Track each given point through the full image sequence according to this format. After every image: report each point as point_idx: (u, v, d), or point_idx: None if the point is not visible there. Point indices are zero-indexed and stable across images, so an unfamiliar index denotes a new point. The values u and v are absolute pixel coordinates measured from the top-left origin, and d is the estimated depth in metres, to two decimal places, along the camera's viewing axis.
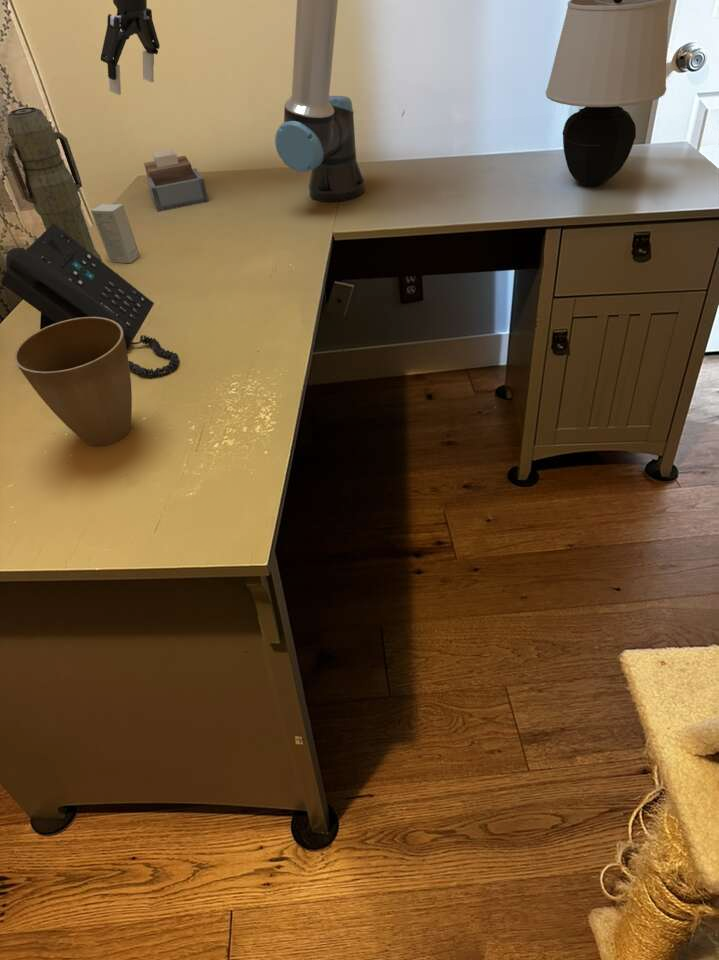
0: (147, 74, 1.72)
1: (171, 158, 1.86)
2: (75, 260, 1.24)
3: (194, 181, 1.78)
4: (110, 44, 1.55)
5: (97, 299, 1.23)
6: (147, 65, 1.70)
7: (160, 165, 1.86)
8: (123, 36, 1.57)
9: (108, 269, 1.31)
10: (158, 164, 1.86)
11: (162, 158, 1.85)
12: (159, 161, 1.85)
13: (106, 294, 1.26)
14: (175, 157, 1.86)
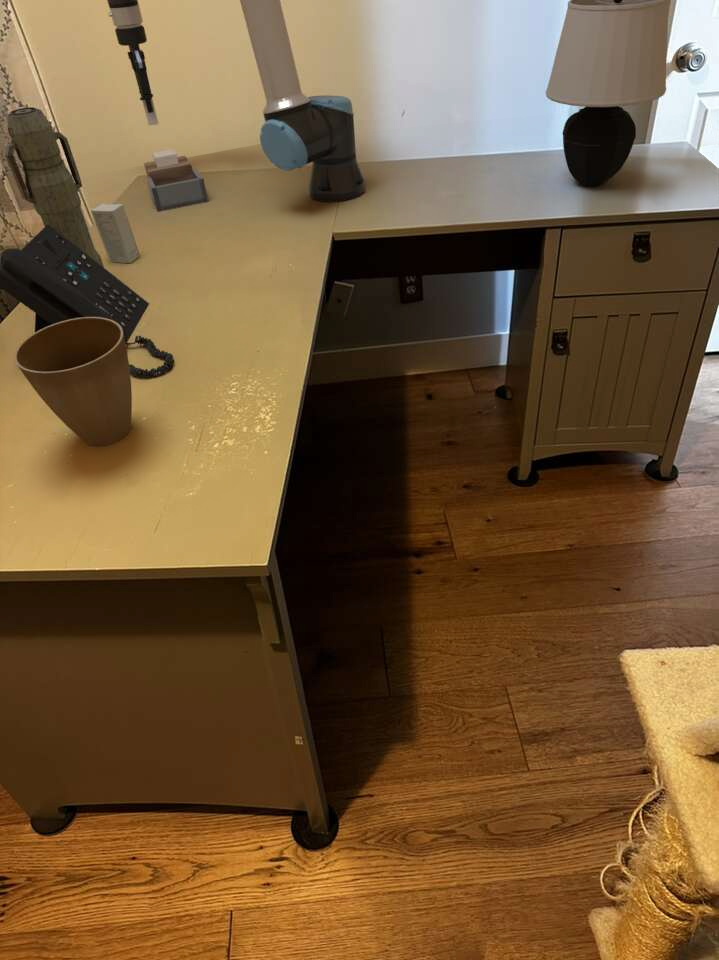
0: None
1: (171, 158, 1.86)
2: (70, 261, 1.24)
3: (194, 181, 1.78)
4: (147, 82, 1.80)
5: (92, 299, 1.23)
6: None
7: (160, 165, 1.86)
8: None
9: (103, 270, 1.31)
10: (158, 164, 1.86)
11: (162, 158, 1.85)
12: (159, 161, 1.85)
13: (101, 294, 1.26)
14: (175, 157, 1.86)
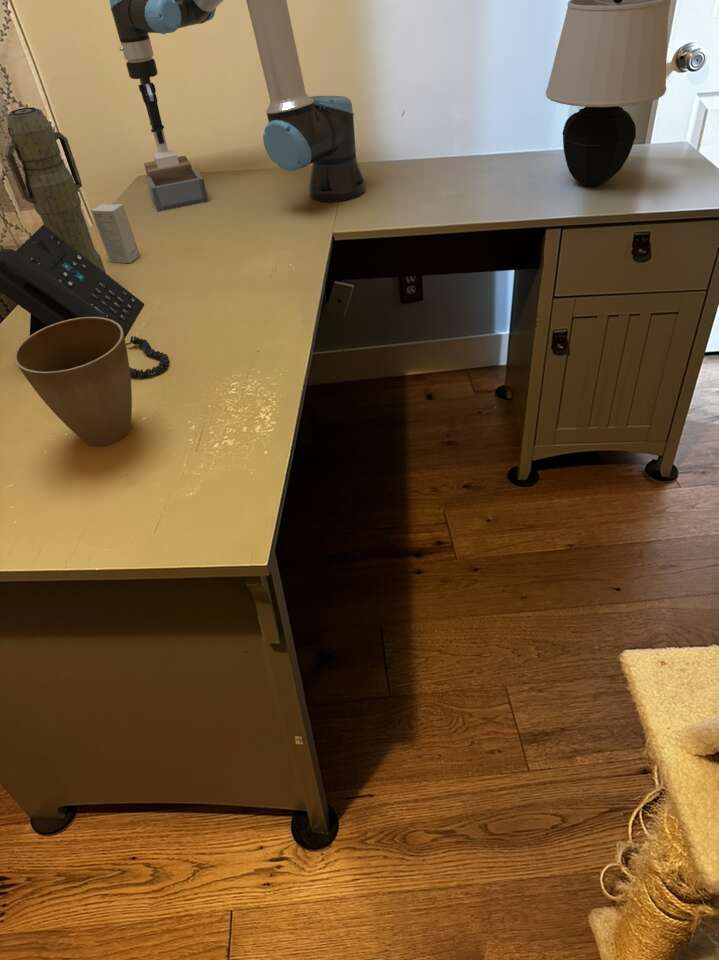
0: None
1: (171, 159, 1.85)
2: (65, 262, 1.24)
3: (194, 181, 1.78)
4: (158, 115, 1.79)
5: (87, 300, 1.23)
6: None
7: (161, 166, 1.85)
8: None
9: (98, 270, 1.31)
10: (159, 165, 1.85)
11: (163, 159, 1.84)
12: (160, 162, 1.84)
13: (96, 295, 1.26)
14: (176, 158, 1.85)
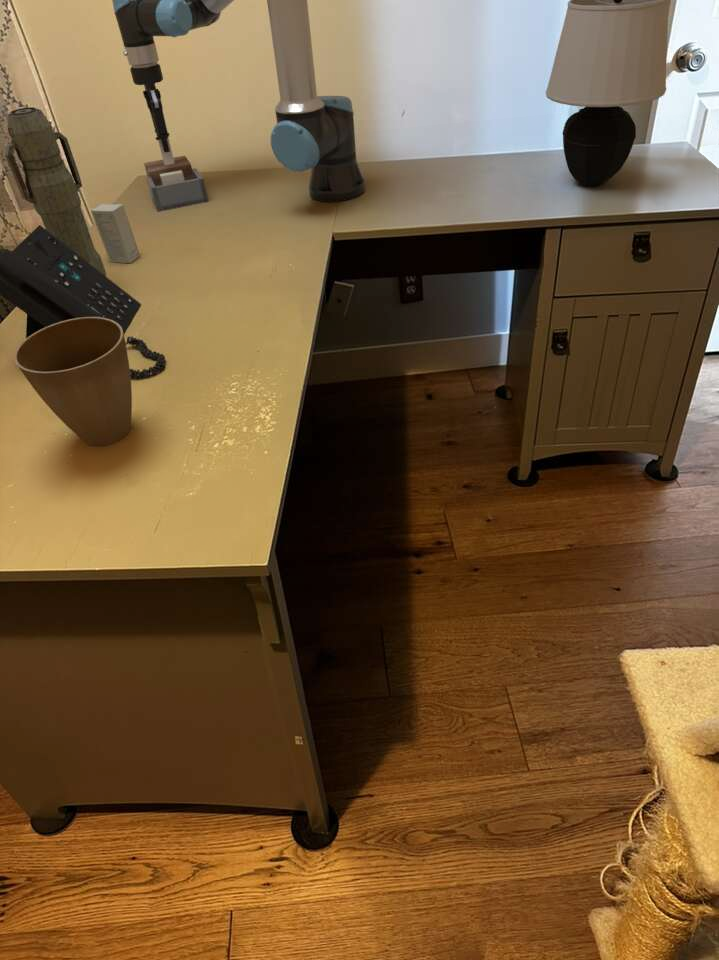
0: None
1: None
2: (62, 262, 1.24)
3: (194, 181, 1.78)
4: (163, 122, 1.72)
5: (84, 300, 1.23)
6: None
7: None
8: None
9: (95, 270, 1.31)
10: None
11: None
12: None
13: (93, 295, 1.26)
14: None
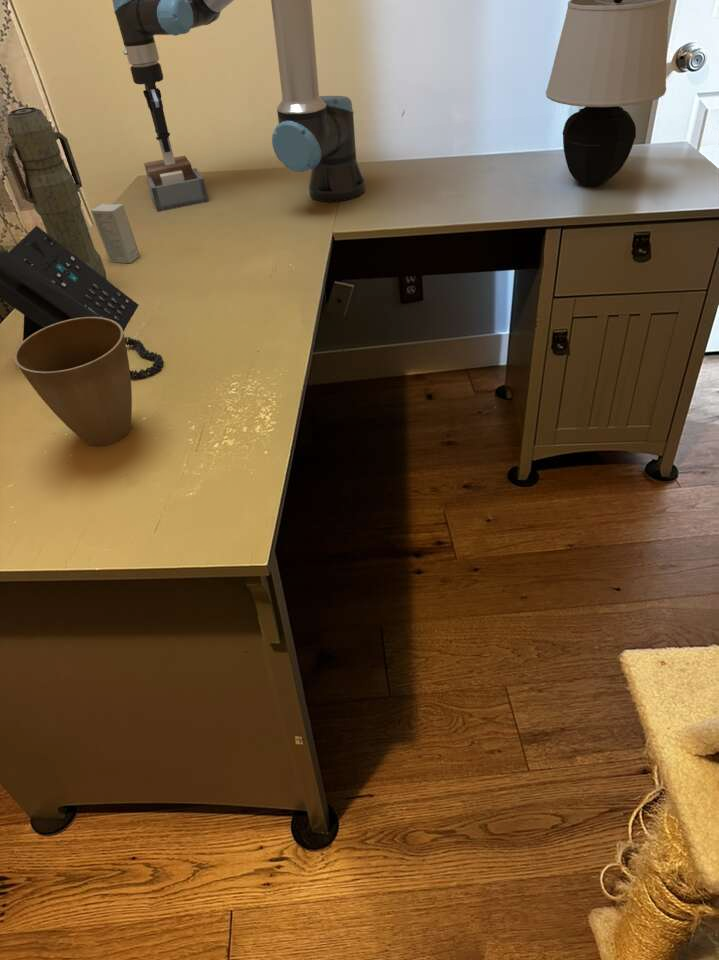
0: None
1: None
2: (59, 263, 1.24)
3: (194, 181, 1.78)
4: (163, 122, 1.71)
5: (81, 301, 1.23)
6: None
7: None
8: None
9: (92, 271, 1.31)
10: None
11: None
12: None
13: (90, 296, 1.26)
14: None
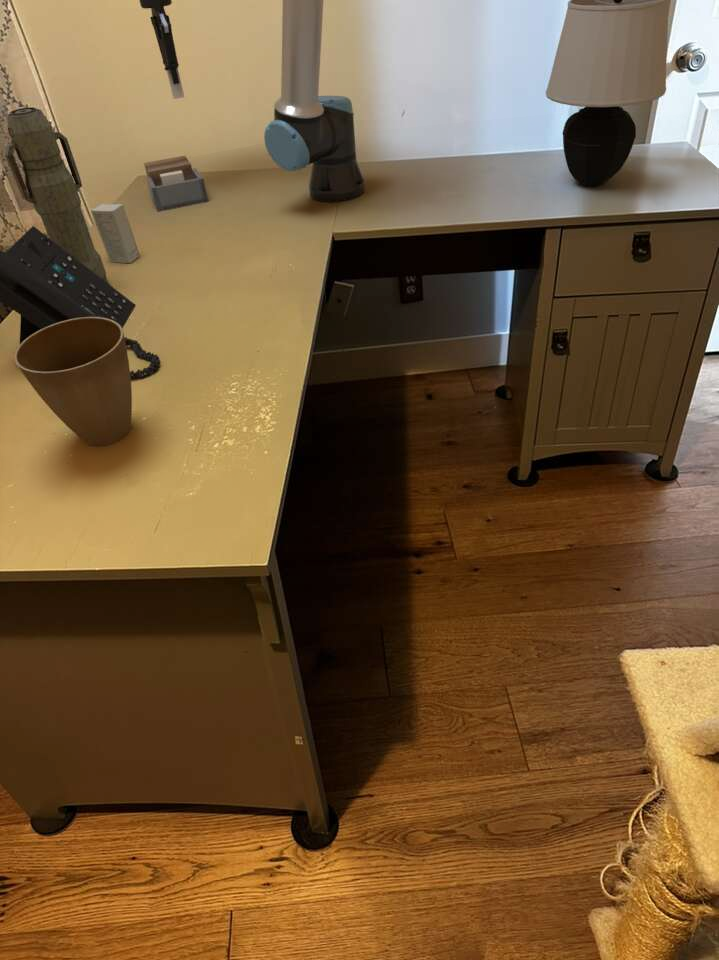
0: None
1: None
2: (55, 263, 1.24)
3: (194, 181, 1.78)
4: (173, 49, 1.64)
5: (78, 301, 1.23)
6: None
7: None
8: None
9: (89, 271, 1.31)
10: None
11: None
12: None
13: (87, 296, 1.26)
14: None
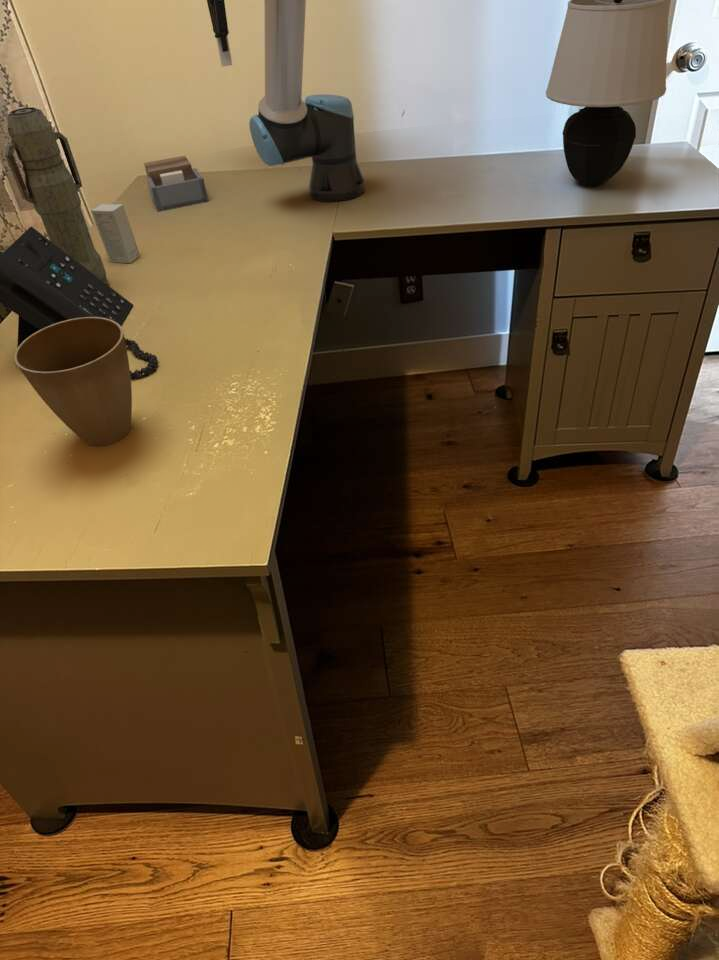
0: None
1: None
2: (53, 263, 1.24)
3: (194, 181, 1.78)
4: (224, 17, 1.68)
5: (76, 301, 1.23)
6: None
7: None
8: None
9: (87, 271, 1.31)
10: None
11: None
12: None
13: (85, 296, 1.26)
14: None
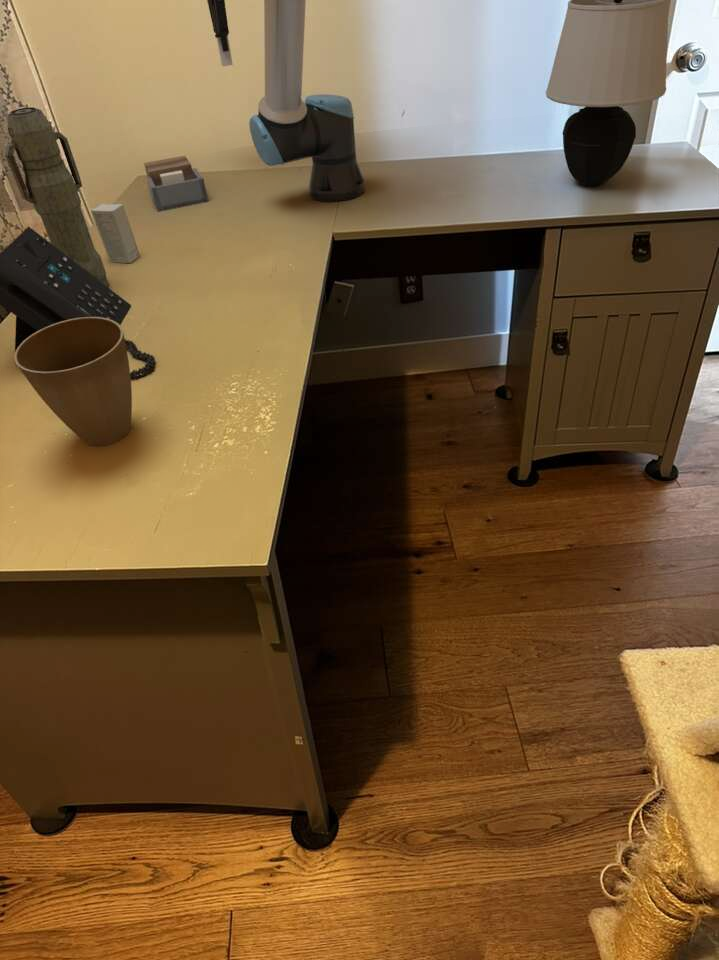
0: None
1: None
2: (51, 263, 1.24)
3: (194, 181, 1.78)
4: (224, 17, 1.68)
5: (73, 301, 1.23)
6: None
7: None
8: None
9: (85, 272, 1.31)
10: None
11: None
12: None
13: (82, 297, 1.26)
14: None
